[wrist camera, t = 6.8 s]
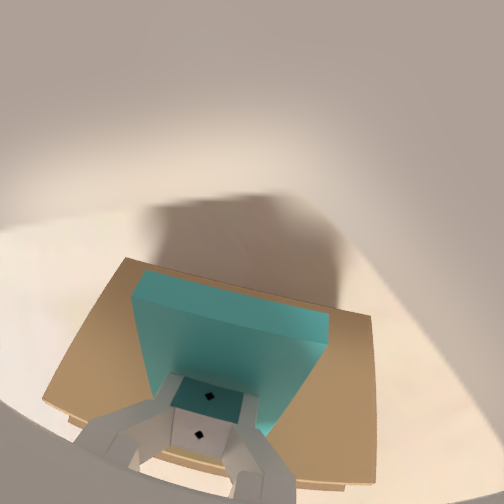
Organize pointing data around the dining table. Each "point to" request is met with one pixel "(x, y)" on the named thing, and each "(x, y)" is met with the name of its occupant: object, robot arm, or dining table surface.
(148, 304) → the hinged cardboard lid
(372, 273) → the dining table surface
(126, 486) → the robot arm
